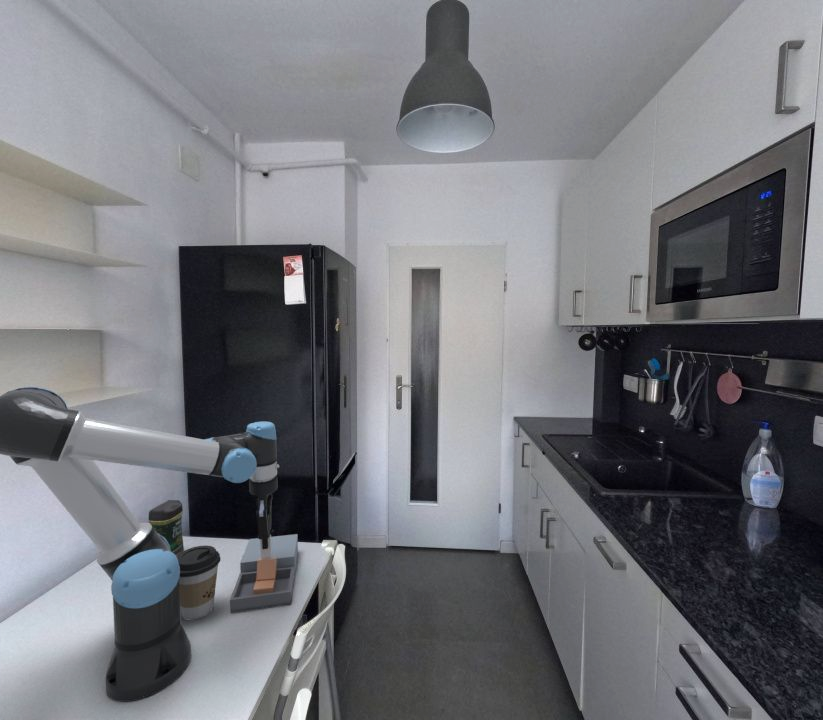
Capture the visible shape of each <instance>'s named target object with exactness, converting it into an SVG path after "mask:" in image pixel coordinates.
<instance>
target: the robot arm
mask: <svg viewBox="0 0 823 720" xmlns="http://www.w3.org/2000/svg"><path fill="white" fill-rule="evenodd" d="M277 439H278V438H277V432H276V426H275V424H274V423H273V422H271V421H255V422H252V423H248V424H247V427H246V431H245V432H240V433H236V434H229V435H223V436H221V435H220V436H217V437H216V436H215V437H214V436H213V437H210V438H205V439H202V438H197V437H192V436H187V435H181V434H175V433H171V432H170V433H169V432H165V431H158V430H153V429H149V428H148V429H147V428H143V427H137V426H131V425H127V424H126V425H125V424H120V423H115V422H110V421H103V420H98V419H95V418H94V419H93V418H89V417H85V416H84V414H83V412H82V411H79V410H76V409H75V410H74V409H69V407H68V406H67V402H66V401H65V400H64V399H63V398H62V397H61V395H60V394H57V393H56V392H54V391H52V390H49V389H46V388H44V387H37V386H25V387H24V386H23V387H18V388H15V389H13V390H8V391H7V392H5V393H3V394H1V395H0V455H3V456H9V457H10V459H12V461H13V462H14V463H15V464H16V466H25V467H26V466H27V467H31V469H32V470H34V472H35V473H36V474H37V475H38V477H40V479H41V480H42V481H43V483H44V484H45V485H46V486H47V487H48V489H49V490H50V491H51V493H53V495H54V497H56V499H57V500H58V502H60V503H61V505H62V506H63V507H64V509H65V510H66V511H67V512H68V513H69V514H70V516H71V517H72V519H74V521H75V522H76V523H77V525H78V526H79V527H80V528H81V530H83V532H84V533H85V534H86V535H87V537H88V538H89V539H90V540H91V542H92V543H93V544H94V545H95V547H96V548H97V549H98V550H99V553H98V555H97V558H96V563H97V564H98V565H99V566H100V567H101V569H102V570H103V571H104V572H105V574H106V575H107V576H108V577H109V578H110V580H111V581H112V582H111V585H110V587H111V588H110V589H111V590H110V591H111V595H112V603H113V604H112V605H113V606H112V607H113V608H112V609H113V630H114V648H113V652H112V655H111V658H110V660H109V662H108V663H109V664H108V666H107V669H106V672H105V678H104V679H105V680H104V681H105V693H106V695H107V696H108V697H109V698H111V699H112V700H114V701H119V702H131V701H137V700H141V699H144V698H147V697H149V696H152V695H154V694H156V693H158V692H160V691H161V690H163V689H166V688H167V687H168V686H169V685H171V684H172V683H173V682H175V681H176V680H177V679H178V678H179V677H180V676H181V675H182V674H183V673H184V672H185V670H186V669H187V667H188V666H189V664H190V661H191V659H192V658H191V657H192V646H191V641H190V639H189V637H188V634H187V633H186V631H185V628H184V626H183V625H182V622H181V621H182V619H181V618H182V616H181V611H180V587H179V577H180V566H179V563H178V559H177V557H176V555H175V554H174V553H172V552H171V549H170V545H169V543H168V542H167V540H166V539H165V538H164V537H163V536H162V535H160V534H158V533H157V532H156V531H155V529H154V528H153V527H152V525H151V524H150V523H149V522H140V521H139V519H138V518H137V516H135V514H134V513H133V512H132V510H131V509H130V507H129V506H128V504H126V503H125V501H124V500H123V498H122V497H121V496H120V494H119V493H118V491H117V490H116V489H115V488H114V486H113V485H112V483H111V482H110V481H109V479H108V478H107V477H106V476H105V474H104V472H102V470H101V469H100V468H99V466H98V465H97V464H96V462H95V461H98V462H104V463H105V462H106V463H111V464H112V463H113V464H119V465H120V464H122V465H129V466H135V467H136V466H137V467H144V468H150V469H151V468H152V469H157V470H158V469H159V470H168V471H175V472H182V473H190V474H196V475H206V476H211V477H219V478H224V480H226V481H228V482H230V483H233V484H241V483H244V482H246V481H248V484H249V486H248V488H249V490H248V491H249V493H250V494H251V495H252V496H257V497H256V498H257V499H255V506H256V511H255V515H256V519H257V530H258V531H257V533H258V535H257V537H256V538H257V539H260V545H261V559H267V558H271V556H272V551H271V537H272V533H274V529H273V528H272V526H273V525H272V508H273V507H272V506H273V505H272V504H273V503H272V502H273V493H274V492H276V491H277V490H278V488H279V486H278V485H279V483H278V482H279V481H278V480H279V479H278V469H279V468H280V464H278V462H277V461H278V458H277V457H278V456H277V455H278V454H277Z"/></svg>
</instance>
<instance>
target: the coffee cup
mask: <svg viewBox="0 0 823 720" xmlns="http://www.w3.org/2000/svg"><path fill="white" fill-rule="evenodd" d="M177 559H178V563H179V566H180V577H179V587H180V615H182V616H181V617H182V618H183V619H184V620H186V621H195V620H198V619H201V618H203V617H205V616H207V615H208V614H210V613H211V612H212V610H213V607H214V604H215V596H216V595H215V594H216V588H217V587H216V586H217V578H218V577H217V576H218V570H219V569H218V567H219V564H220V562H221V554H220V553H219V551H218V550H217V549H216V547H214V546H211V545H197V546H193V547H189V548H187V549H184V551H183V552H182V553H180V554H179V555H178V556H177Z"/></svg>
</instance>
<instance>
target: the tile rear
mask: <svg viewBox="0 0 823 720" xmlns="http://www.w3.org/2000/svg"><path fill="white" fill-rule="evenodd" d="M276 571H277V557H271V558H267V559H261V558H259V559H258V560H257V578H256V580H264V579H274V578H276Z"/></svg>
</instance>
